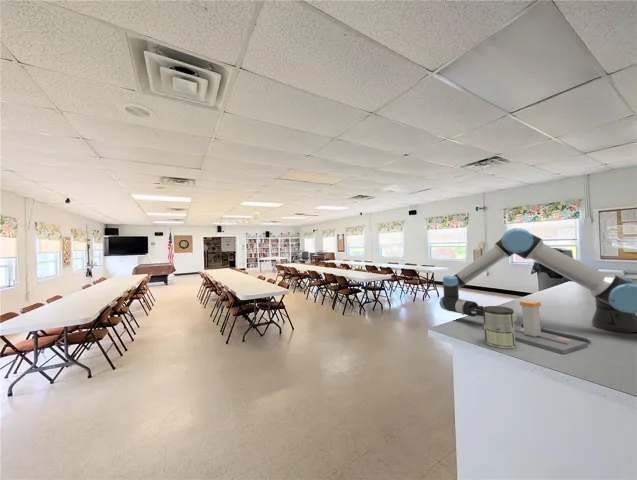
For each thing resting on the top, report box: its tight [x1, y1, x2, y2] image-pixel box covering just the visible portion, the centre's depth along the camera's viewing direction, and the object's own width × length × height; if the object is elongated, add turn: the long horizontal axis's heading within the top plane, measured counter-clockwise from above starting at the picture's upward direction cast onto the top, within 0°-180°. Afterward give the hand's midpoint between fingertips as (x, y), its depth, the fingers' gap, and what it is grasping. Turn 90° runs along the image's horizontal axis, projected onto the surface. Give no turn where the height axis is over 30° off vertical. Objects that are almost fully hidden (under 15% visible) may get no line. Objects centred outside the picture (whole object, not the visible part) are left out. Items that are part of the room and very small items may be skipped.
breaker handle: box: [519, 300, 542, 337], centre depth 108 cm, size 5×5×14 cm
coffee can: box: [483, 305, 517, 349], centre depth 104 cm, size 10×10×14 cm
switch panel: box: [514, 324, 589, 355], centre depth 106 cm, size 26×16×2 cm, turn 22°
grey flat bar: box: [520, 323, 592, 344], centre depth 110 cm, size 23×4×2 cm, turn 22°
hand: (515, 318), depth 113 cm, fingers closed
